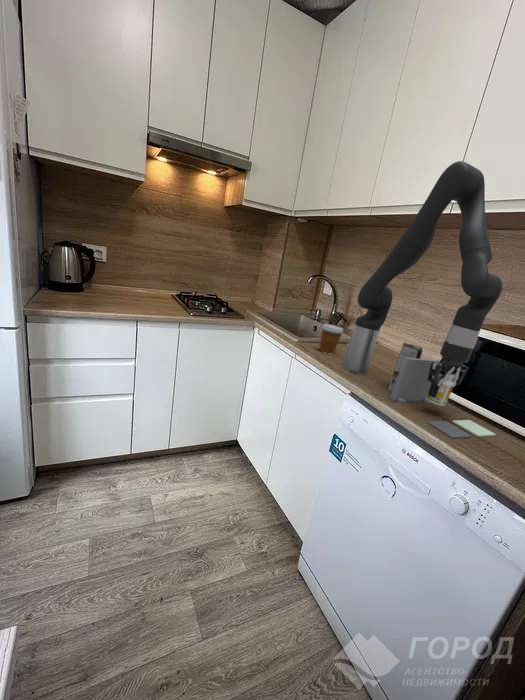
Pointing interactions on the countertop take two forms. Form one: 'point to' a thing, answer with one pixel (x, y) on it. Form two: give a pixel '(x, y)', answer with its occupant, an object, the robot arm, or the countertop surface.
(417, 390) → the screen
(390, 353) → the countertop surface
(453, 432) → the grey pad
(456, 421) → the green pad
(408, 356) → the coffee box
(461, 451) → the countertop surface
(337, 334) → the disposable coffee cup
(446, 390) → the supplement bottle
